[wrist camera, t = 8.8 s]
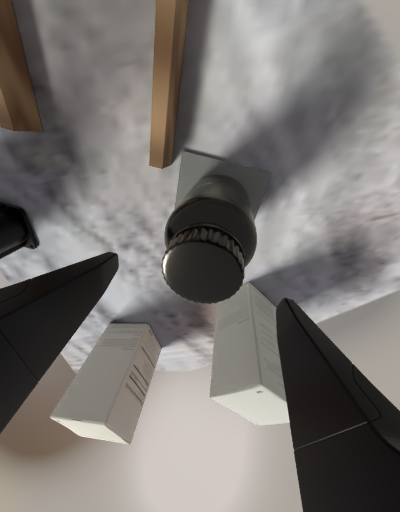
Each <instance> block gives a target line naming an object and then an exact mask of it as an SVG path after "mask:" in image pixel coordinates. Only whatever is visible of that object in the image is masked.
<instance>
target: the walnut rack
mask: <svg viewBox="0 0 400 512" xmlns="http://www.w3.org/2000/svg"><path fill="white" fill-rule="evenodd" d="M188 5H189V0H156V20H155V44H154V67H153V91H152V115H151V139H150V162H149V166H153V167H157V168H161V169H163V168H165V167H168V166H170V165H172V156H173V146H174V137H175V128H176V118H177V109H178V99H179V90H180V80H181V71H182V62H183V52H184V43H185V33H186V24H187V14H188ZM0 125H1V127H2V128H5V129H9V130H13V131H36V132H43V129H42V125H41V121H40V117H39V113H38V109H37V105H36V100H35V96H34V92H33V88H32V84H31V80H30V76H29V71H28V67H27V63H26V59H25V55H24V51H23V47H22V42H21V38H20V34H19V30H18V26H17V22H16V18H15V14H14V9H13V5H12V1H11V0H0Z"/></svg>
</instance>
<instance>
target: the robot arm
mask: <svg viewBox="0 0 400 512" xmlns="http://www.w3.org/2000/svg"><path fill="white" fill-rule="evenodd" d="M22 247H27V248H31V249H35V248H37V244H36V241H35V238H34V236H33V233H32V230H31V228H30V225H29V222H28V219H27V217H26V214H25V211H24V210H23V209H22V208H20V207H16V206H12V205H8V204H4V203H2V202H0V259H1V258H3V257H5V256H7V255H9V254H11V253H13V252H15V251H16V250H18V249H20V248H22ZM118 267H119V263H118V255H117V254H116V253H113V252H107V253H104V254H101V255H98V256H95V257H93V258H90V259H87V260H84V261H81V262H78V263H75V264H72V265H69V266H66V267H63V268H61V269H58V270H55V271H52V272H49V273H46V274H43V275H40V276H37V277H34V278H32V279H28V280H26V281H23V282H20V283H17V284H14V285H11V286H8V287H4V288H1V289H0V433H1V432H2V431H3V429H4V428H5V427H6V425H7V424H8V423H9V421H10V420H11V419H12V417H13V416H14V414H15V413H16V412H17V411H18V409H19V408H20V406H21V405H22V404H23V402H24V401H25V400H26V398H27V397H28V396H29V394H30V393H31V392H32V390H33V389H34V388H35V386H36V385H37V384H38V381H40V379H41V378H42V377H43V375H44V374H45V372H46V371H47V370H48V368H49V367H50V366H51V364H52V363H53V362H54V360H55V359H56V357H57V356H58V355H59V354H60V352H61V351H62V350H63V348H64V347H65V345H66V344H67V343H68V341H69V340H70V339H71V337H72V336H73V335H74V333H75V332H76V331H77V329H78V328H79V327H80V325H81V324H82V322H83V321H84V320H85V318H86V317H87V316H88V314H89V313H90V312H91V310H92V309H93V308H94V306H95V305H96V304H97V302H98V301H99V300H100V298H101V297H102V295H103V294H104V292H105V291H106V289H107V287H108V286H109V284H110V282H111V280H112V279H113V277H114V275H115V274H116V272H117V270H118ZM276 330H277V343H278V349H279V356H280V363H281V369H282V376H283V382H284V389H285V395H286V402H287V408H288V415H289V421H290V428H291V435H292V441H293V448H294V455H295V462H296V468H297V475H298V481H299V488H300V494H301V501H302V507H303V512H400V411H399V410H398V409H397V408H396V407H395V406H394V405H393V404H392V403H391V402H390V401H389V400H388V399H387V398H386V397H385V396H384V395H383V394H382V393H381V392H380V391H379V390H378V389H377V388H376V387H375V386H374V385H373V384H372V383H371V382H370V381H369V380H368V379H367V378H366V377H365V376H364V375H363V374H362V373H361V372H360V371H359V370H358V369H357V367H356V366H355V365H354V364H352V362H351V361H350V360H349V359H348V358H347V357H346V356H345V355H344V354H343V353H342V352H341V351H340V350H339V349H338V347H337V346H336V345H335V344H334V343H333V342H332V341H331V340H330V339H329V338H328V337H327V336H326V335H325V334H324V333H323V332H322V330H321V329H320V328H318V326H317V325H316V324H315V323H314V322H313V321H312V320H311V319H310V318H309V317H308V316H307V315H306V313H305V312H304V311H303V310H302V309H301V308H300V307H299V306H298V305H297V304H296V303H295V302H294V301H293V300H292V299H288V298H283V299H282V301H281V302H280V304H279V305H278V306H277V308H276Z"/></svg>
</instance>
